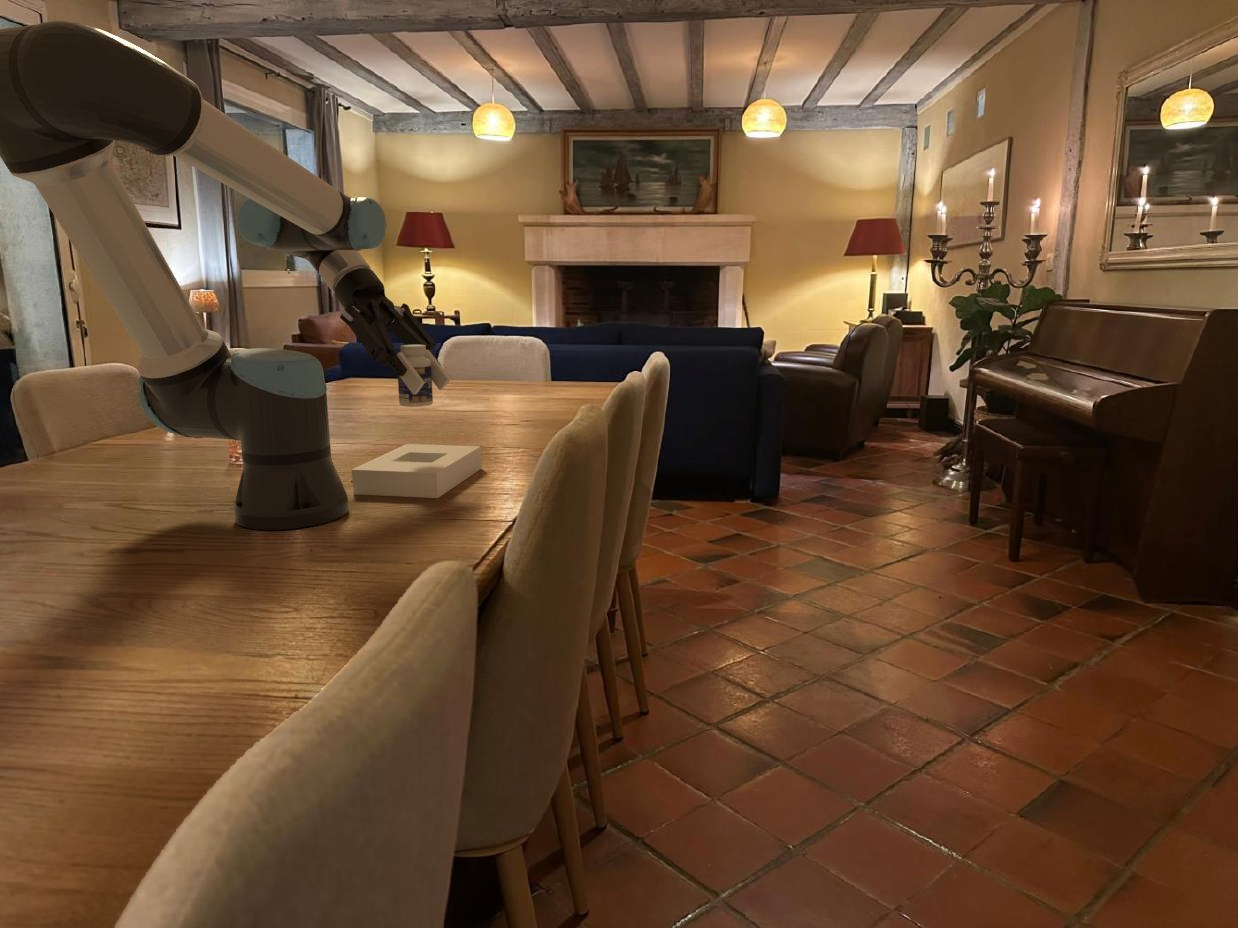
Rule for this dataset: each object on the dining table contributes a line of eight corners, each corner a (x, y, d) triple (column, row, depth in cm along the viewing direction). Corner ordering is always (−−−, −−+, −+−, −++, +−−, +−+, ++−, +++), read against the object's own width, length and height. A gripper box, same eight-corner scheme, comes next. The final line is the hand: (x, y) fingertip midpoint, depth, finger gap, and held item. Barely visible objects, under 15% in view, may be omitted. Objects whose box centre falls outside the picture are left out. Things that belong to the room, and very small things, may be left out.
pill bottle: (413, 408, 129) (410, 347, 127) (392, 405, 133) (388, 345, 130) (440, 404, 134) (437, 345, 132) (418, 401, 137) (415, 343, 135)
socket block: (353, 494, 128) (351, 469, 127) (407, 465, 147) (406, 443, 146) (437, 498, 125) (436, 472, 124) (481, 468, 144) (480, 446, 143)
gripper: (383, 297, 145) (458, 395, 140) (297, 299, 129) (378, 409, 125) (403, 266, 141) (481, 366, 137) (317, 264, 125) (402, 376, 121)
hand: (432, 386), depth 131 cm, fingers closed on pill bottle, 5 cm apart
